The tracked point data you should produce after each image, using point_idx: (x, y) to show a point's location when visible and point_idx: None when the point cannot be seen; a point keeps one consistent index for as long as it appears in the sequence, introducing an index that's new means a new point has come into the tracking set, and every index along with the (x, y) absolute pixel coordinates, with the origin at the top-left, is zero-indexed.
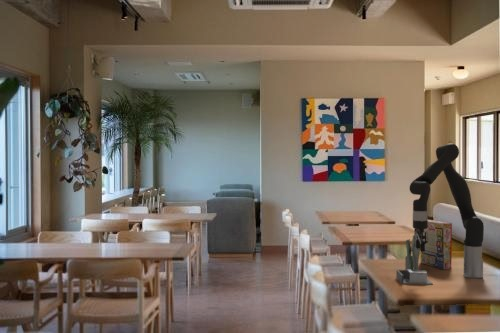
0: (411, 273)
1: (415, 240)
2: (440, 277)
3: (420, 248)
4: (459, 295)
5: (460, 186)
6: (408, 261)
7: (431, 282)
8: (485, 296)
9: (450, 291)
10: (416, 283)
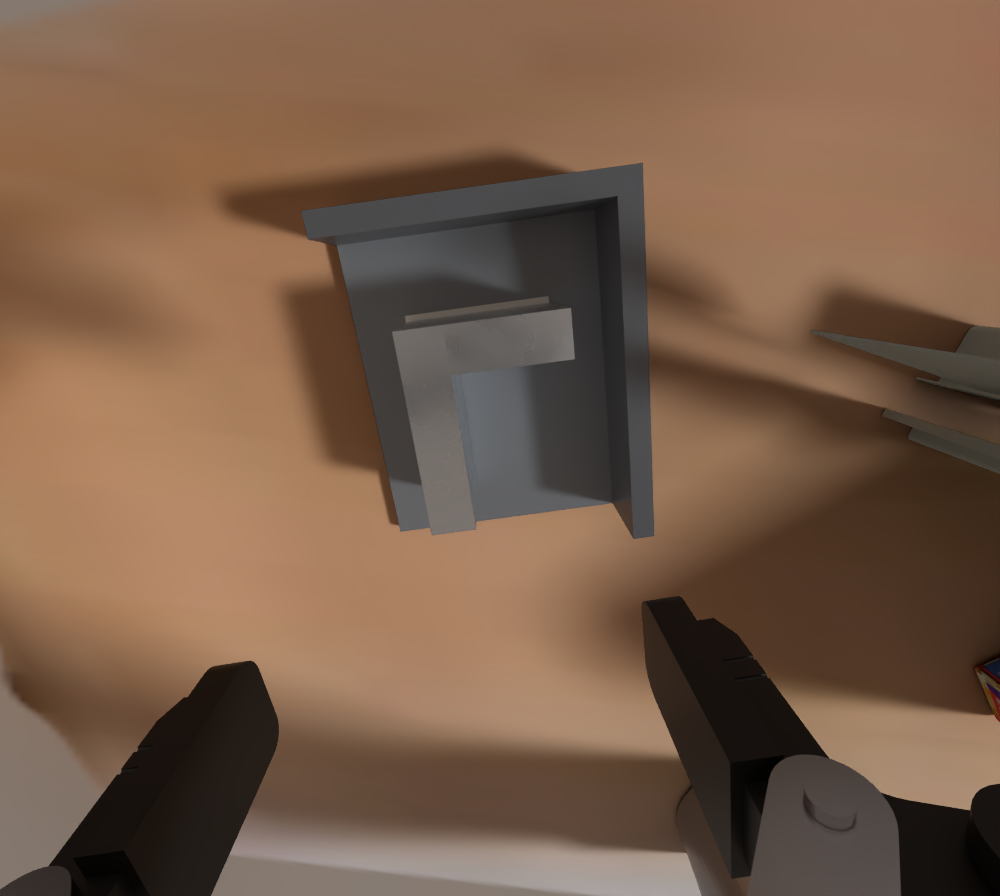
0: (398, 353)
1: (807, 784)
2: None
3: (181, 719)
4: (109, 670)
5: None
6: (933, 368)
7: None
8: None
9: (211, 628)
10: (369, 386)
